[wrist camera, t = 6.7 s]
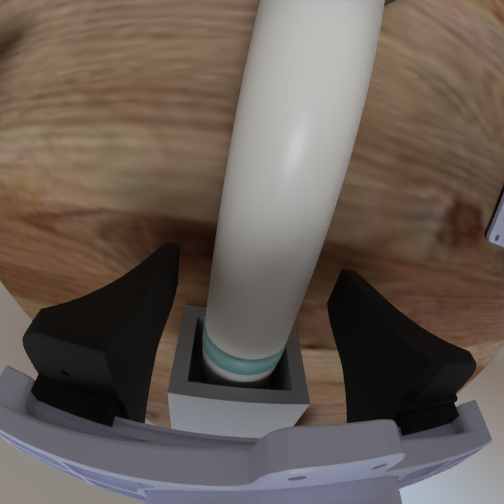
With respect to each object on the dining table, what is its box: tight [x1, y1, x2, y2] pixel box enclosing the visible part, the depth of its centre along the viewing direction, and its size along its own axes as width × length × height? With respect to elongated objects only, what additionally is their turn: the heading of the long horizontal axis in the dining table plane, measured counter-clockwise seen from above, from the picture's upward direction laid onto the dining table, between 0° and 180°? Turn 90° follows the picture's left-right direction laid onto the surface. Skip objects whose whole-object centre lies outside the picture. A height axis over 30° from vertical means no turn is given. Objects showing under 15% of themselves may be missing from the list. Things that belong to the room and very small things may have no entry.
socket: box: [168, 304, 310, 438], centre depth 15 cm, size 5×7×6 cm
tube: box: [200, 0, 385, 389], centre depth 10 cm, size 23×4×4 cm, turn 169°
